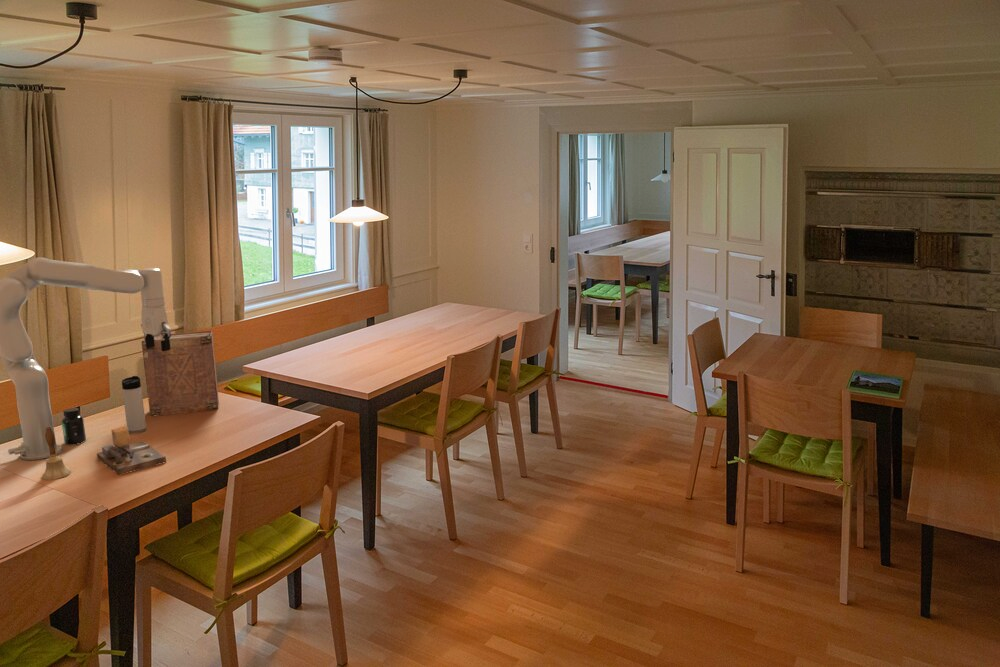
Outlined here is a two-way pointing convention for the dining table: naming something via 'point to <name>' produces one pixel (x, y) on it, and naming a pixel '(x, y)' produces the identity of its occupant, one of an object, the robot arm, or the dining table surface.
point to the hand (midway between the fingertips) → (158, 348)
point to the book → (181, 374)
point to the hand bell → (54, 460)
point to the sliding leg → (122, 441)
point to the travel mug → (133, 404)
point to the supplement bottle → (73, 426)
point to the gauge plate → (123, 463)
